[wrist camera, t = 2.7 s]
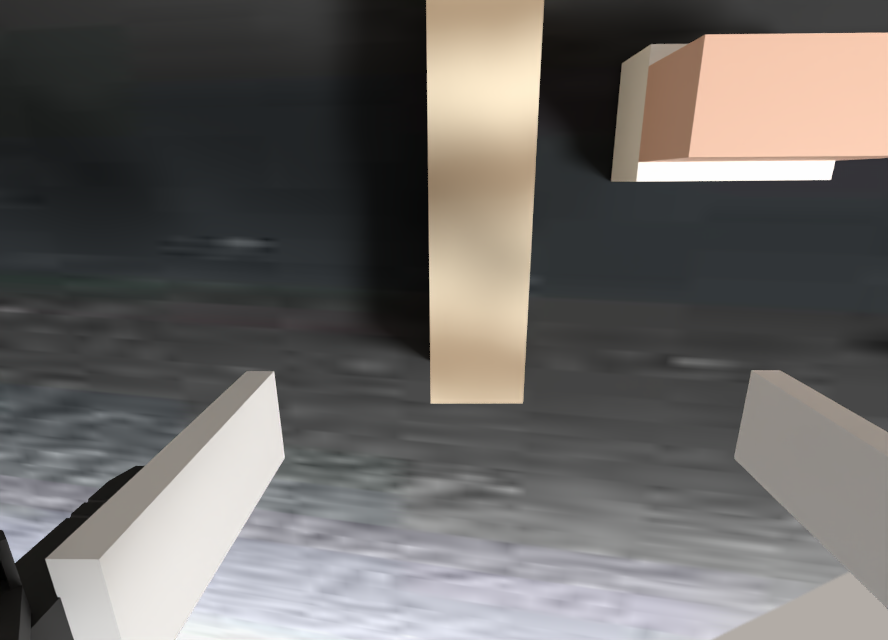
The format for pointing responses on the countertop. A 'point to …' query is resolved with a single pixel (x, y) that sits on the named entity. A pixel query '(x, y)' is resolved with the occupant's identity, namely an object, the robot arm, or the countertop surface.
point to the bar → (481, 193)
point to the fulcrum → (752, 107)
